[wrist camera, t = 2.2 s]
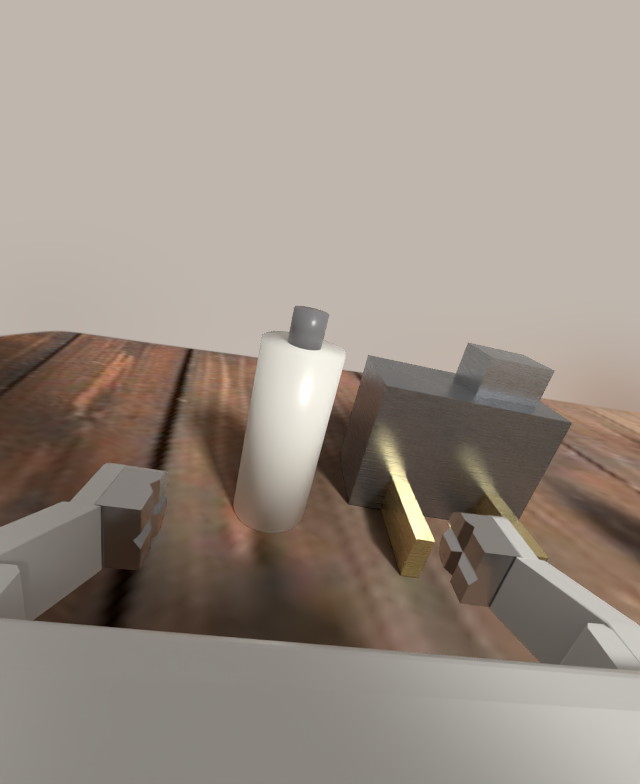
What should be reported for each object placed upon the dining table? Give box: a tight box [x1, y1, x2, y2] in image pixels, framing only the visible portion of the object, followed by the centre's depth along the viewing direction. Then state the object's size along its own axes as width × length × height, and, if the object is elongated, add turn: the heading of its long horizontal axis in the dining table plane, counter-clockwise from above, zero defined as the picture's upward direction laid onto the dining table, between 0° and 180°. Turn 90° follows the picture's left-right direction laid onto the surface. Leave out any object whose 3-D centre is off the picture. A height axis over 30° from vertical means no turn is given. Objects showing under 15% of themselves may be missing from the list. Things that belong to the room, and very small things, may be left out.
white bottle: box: [233, 306, 346, 533], centre depth 23 cm, size 5×5×14 cm
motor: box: [339, 343, 572, 578], centre depth 27 cm, size 16×13×13 cm
